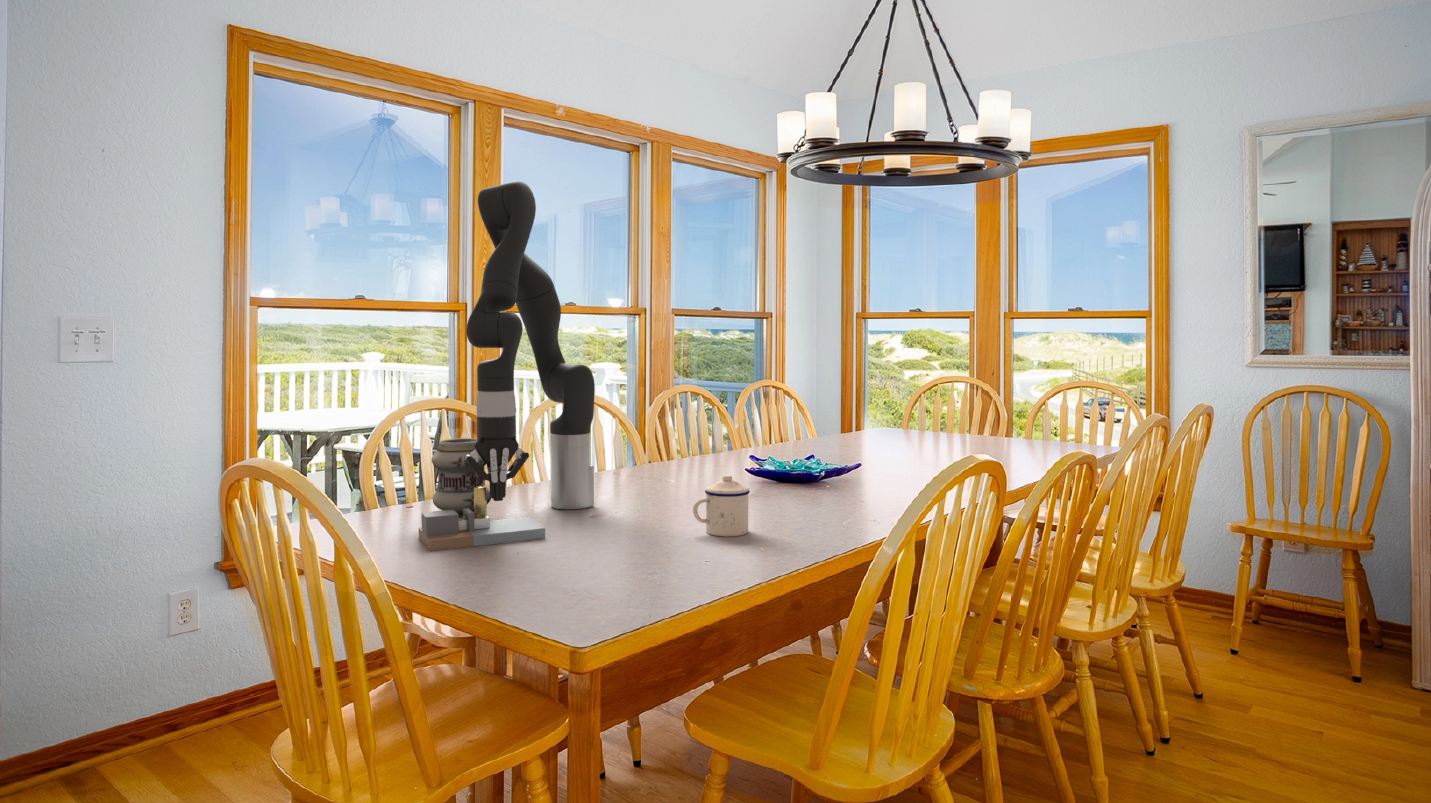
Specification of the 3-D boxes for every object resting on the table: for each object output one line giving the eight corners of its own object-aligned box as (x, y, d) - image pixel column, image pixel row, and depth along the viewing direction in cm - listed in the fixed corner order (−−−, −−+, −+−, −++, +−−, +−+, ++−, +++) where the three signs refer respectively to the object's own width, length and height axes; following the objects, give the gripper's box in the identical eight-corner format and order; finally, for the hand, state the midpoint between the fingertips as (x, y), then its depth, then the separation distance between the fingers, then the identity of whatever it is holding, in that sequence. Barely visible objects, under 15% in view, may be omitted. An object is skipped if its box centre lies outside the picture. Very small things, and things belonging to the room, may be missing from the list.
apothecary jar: (450, 516, 197) (448, 435, 195) (501, 519, 194) (500, 437, 193) (421, 528, 185) (419, 442, 183) (475, 531, 182) (474, 444, 181)
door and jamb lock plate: (527, 526, 187) (527, 499, 187) (545, 538, 177) (544, 509, 176) (418, 537, 177) (418, 509, 177) (430, 550, 167) (429, 520, 166)
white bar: (486, 525, 178) (486, 485, 178) (489, 527, 176) (489, 487, 176) (435, 530, 174) (434, 489, 173) (437, 533, 172) (436, 491, 171)
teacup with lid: (737, 525, 188) (738, 470, 187) (757, 534, 180) (757, 477, 179) (684, 530, 184) (684, 474, 183) (702, 540, 175) (702, 481, 174)
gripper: (523, 410, 183) (524, 494, 184) (458, 413, 176) (459, 500, 178) (534, 413, 176) (535, 500, 178) (466, 416, 170) (468, 506, 171)
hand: (497, 500), depth 178 cm, fingers closed
